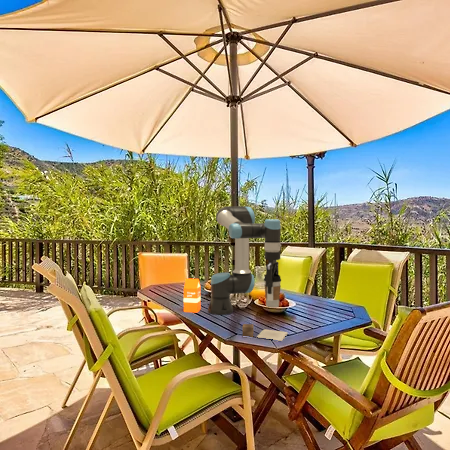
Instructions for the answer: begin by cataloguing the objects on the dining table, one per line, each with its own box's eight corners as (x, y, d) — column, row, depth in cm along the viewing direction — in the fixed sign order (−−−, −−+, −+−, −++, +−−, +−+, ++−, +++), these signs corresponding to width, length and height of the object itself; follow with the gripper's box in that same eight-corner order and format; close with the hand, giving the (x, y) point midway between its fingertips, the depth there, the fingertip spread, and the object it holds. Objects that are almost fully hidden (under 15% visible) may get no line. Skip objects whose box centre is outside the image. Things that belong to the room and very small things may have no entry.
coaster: (256, 338, 156) (256, 336, 156) (264, 330, 167) (264, 329, 167) (281, 342, 152) (281, 340, 152) (287, 333, 163) (287, 332, 163)
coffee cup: (279, 303, 164) (279, 273, 164) (283, 308, 155) (283, 276, 155) (262, 304, 163) (262, 273, 163) (265, 308, 155) (265, 276, 155)
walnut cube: (242, 337, 158) (242, 327, 158) (243, 333, 163) (243, 323, 163) (252, 337, 157) (253, 327, 157) (253, 334, 162) (253, 324, 162)
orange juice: (197, 312, 201) (197, 279, 201) (183, 311, 203) (183, 279, 202) (200, 309, 208) (200, 277, 208) (187, 308, 210) (187, 277, 210)
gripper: (274, 253, 148) (274, 304, 148) (285, 249, 167) (285, 295, 167) (258, 252, 151) (258, 302, 151) (270, 249, 170) (270, 293, 170)
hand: (272, 298), depth 159 cm, fingers closed on coffee cup, 8 cm apart
